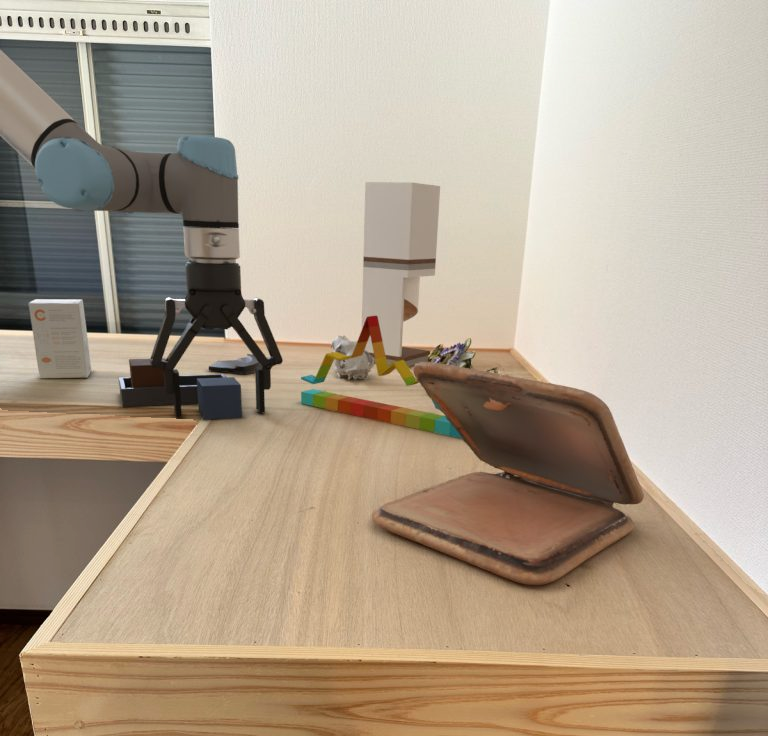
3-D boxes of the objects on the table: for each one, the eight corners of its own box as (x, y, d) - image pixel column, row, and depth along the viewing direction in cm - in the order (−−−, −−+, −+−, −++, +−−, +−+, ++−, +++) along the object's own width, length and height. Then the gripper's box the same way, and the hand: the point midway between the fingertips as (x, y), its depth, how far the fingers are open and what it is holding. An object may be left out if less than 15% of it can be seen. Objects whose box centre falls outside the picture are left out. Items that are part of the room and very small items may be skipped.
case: (646, 528, 74) (676, 371, 68) (540, 597, 59) (566, 404, 53) (481, 478, 87) (493, 342, 81) (359, 525, 72) (363, 362, 66)
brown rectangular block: (133, 397, 113) (131, 365, 111) (131, 390, 118) (128, 359, 116) (171, 396, 115) (168, 364, 113) (167, 388, 120) (165, 358, 118)
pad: (203, 420, 107) (202, 386, 105) (198, 410, 111) (196, 378, 109) (242, 417, 108) (240, 384, 107) (235, 408, 113) (233, 377, 111)
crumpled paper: (345, 370, 132) (325, 318, 136) (335, 397, 140) (316, 347, 144) (384, 365, 135) (364, 314, 139) (372, 392, 143) (353, 343, 147)
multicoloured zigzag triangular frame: (475, 434, 105) (485, 328, 99) (464, 439, 102) (473, 330, 97) (313, 400, 121) (314, 307, 115) (301, 403, 118) (300, 308, 113)
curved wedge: (277, 363, 149) (277, 355, 149) (245, 375, 137) (245, 366, 137) (240, 360, 152) (240, 352, 151) (206, 371, 140) (206, 362, 139)
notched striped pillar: (403, 367, 151) (412, 182, 138) (360, 360, 156) (365, 182, 143) (429, 360, 160) (440, 186, 147) (388, 354, 165) (395, 185, 152)
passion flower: (433, 425, 129) (411, 364, 131) (487, 410, 132) (465, 351, 134) (453, 402, 119) (429, 336, 120) (511, 387, 122) (487, 322, 123)
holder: (122, 407, 112) (121, 389, 111) (120, 394, 119) (118, 377, 118) (234, 401, 118) (233, 384, 117) (225, 389, 125) (224, 373, 124)
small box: (92, 371, 135) (83, 298, 130) (87, 378, 130) (79, 302, 125) (44, 371, 133) (34, 298, 129) (38, 379, 128) (27, 302, 123)
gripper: (124, 260, 94) (138, 423, 102) (302, 264, 103) (303, 414, 111) (121, 257, 101) (135, 411, 109) (289, 260, 109) (291, 403, 117)
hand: (220, 413), depth 110 cm, fingers open, 12 cm apart
